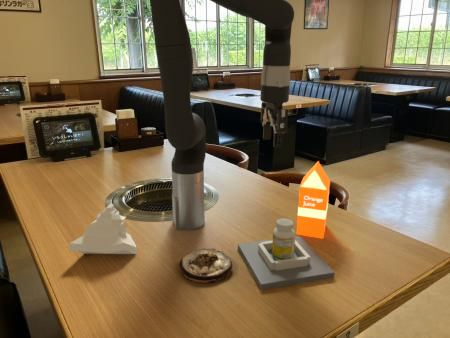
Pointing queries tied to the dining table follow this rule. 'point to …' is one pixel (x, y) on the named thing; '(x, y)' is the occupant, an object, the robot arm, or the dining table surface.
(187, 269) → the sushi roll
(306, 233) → the orange juice
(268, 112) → the robot arm
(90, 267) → the dining table surface
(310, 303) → the dining table surface
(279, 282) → the socket board
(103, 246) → the white jagged pyramid
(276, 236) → the supplement bottle
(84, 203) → the dining table surface
